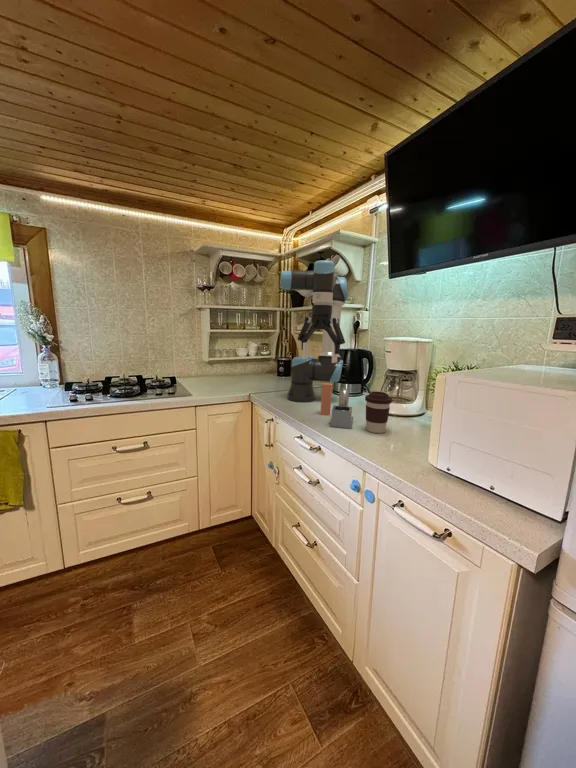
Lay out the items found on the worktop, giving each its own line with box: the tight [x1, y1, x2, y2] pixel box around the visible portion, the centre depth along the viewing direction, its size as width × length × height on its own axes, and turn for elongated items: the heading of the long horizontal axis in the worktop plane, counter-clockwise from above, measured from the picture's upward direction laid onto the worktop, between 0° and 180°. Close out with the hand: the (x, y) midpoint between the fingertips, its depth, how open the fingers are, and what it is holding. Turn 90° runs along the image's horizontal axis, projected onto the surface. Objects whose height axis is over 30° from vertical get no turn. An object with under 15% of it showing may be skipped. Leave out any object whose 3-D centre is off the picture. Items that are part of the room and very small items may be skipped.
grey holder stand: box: [328, 388, 354, 430], centre depth 133 cm, size 16×9×13 cm, turn 167°
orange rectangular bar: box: [320, 382, 333, 417], centre depth 144 cm, size 4×4×14 cm
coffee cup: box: [364, 391, 393, 434], centre depth 124 cm, size 10×10×15 cm
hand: (319, 360), depth 124 cm, fingers open, 13 cm apart
